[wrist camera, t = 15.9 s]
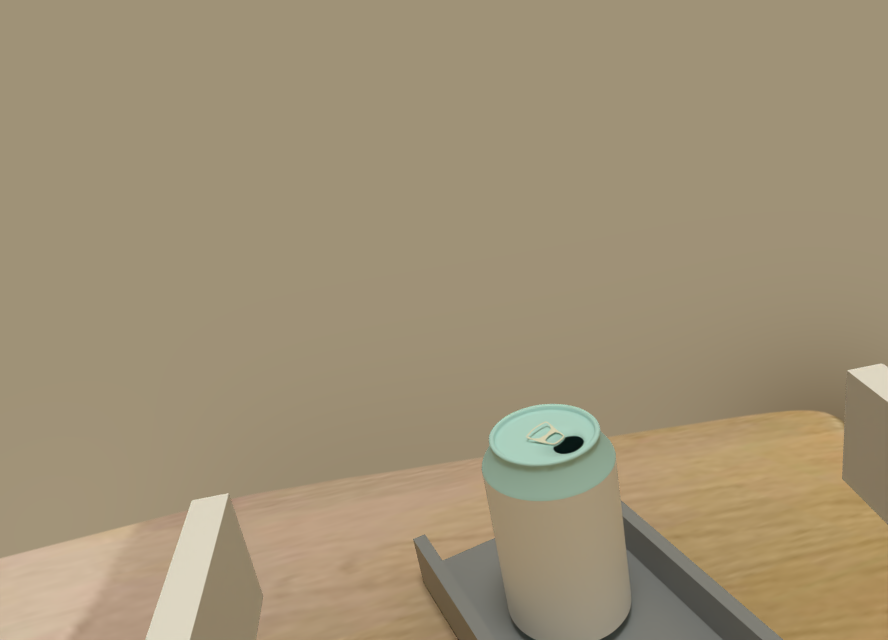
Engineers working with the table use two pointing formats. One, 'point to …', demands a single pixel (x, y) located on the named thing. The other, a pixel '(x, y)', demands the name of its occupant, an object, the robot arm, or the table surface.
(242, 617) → the robot arm
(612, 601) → the can
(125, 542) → the table surface
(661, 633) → the duct channel
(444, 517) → the table surface
